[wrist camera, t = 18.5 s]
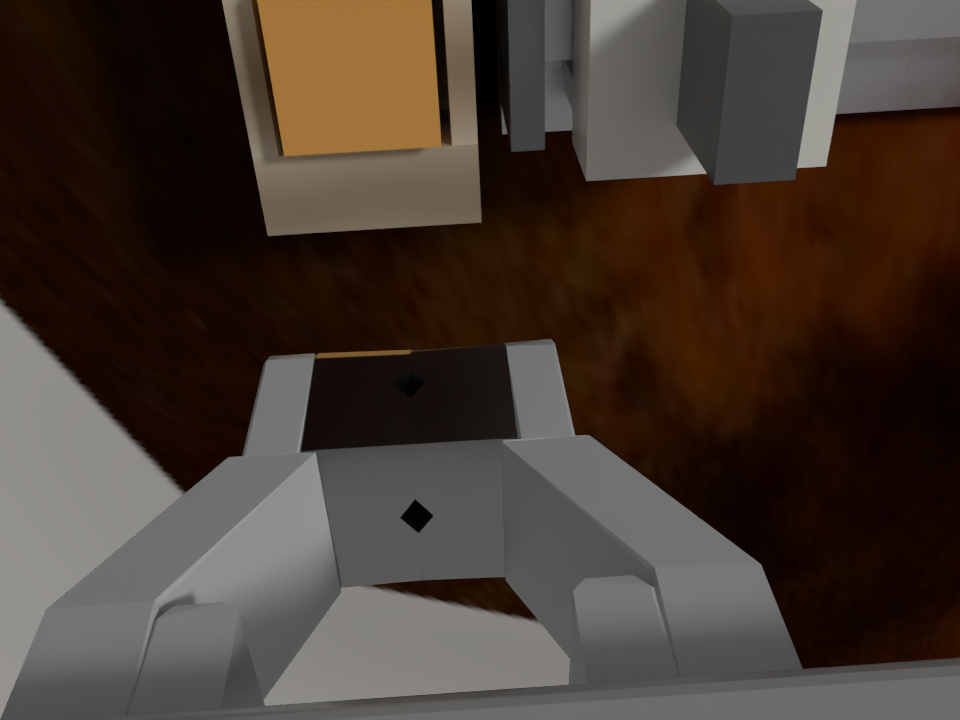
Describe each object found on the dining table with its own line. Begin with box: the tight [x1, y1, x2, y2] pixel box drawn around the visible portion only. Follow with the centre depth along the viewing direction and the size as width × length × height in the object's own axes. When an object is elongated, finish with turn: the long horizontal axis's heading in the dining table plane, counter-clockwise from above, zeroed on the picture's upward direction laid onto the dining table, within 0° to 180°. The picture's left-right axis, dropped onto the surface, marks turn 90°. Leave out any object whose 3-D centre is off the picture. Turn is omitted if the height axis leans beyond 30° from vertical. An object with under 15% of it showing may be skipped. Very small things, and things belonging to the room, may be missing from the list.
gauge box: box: [222, 0, 482, 236], centre depth 28 cm, size 11×6×6 cm, turn 2°
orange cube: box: [257, 0, 442, 156], centre depth 26 cm, size 4×4×4 cm
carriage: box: [564, 0, 857, 185], centre depth 25 cm, size 7×7×9 cm
